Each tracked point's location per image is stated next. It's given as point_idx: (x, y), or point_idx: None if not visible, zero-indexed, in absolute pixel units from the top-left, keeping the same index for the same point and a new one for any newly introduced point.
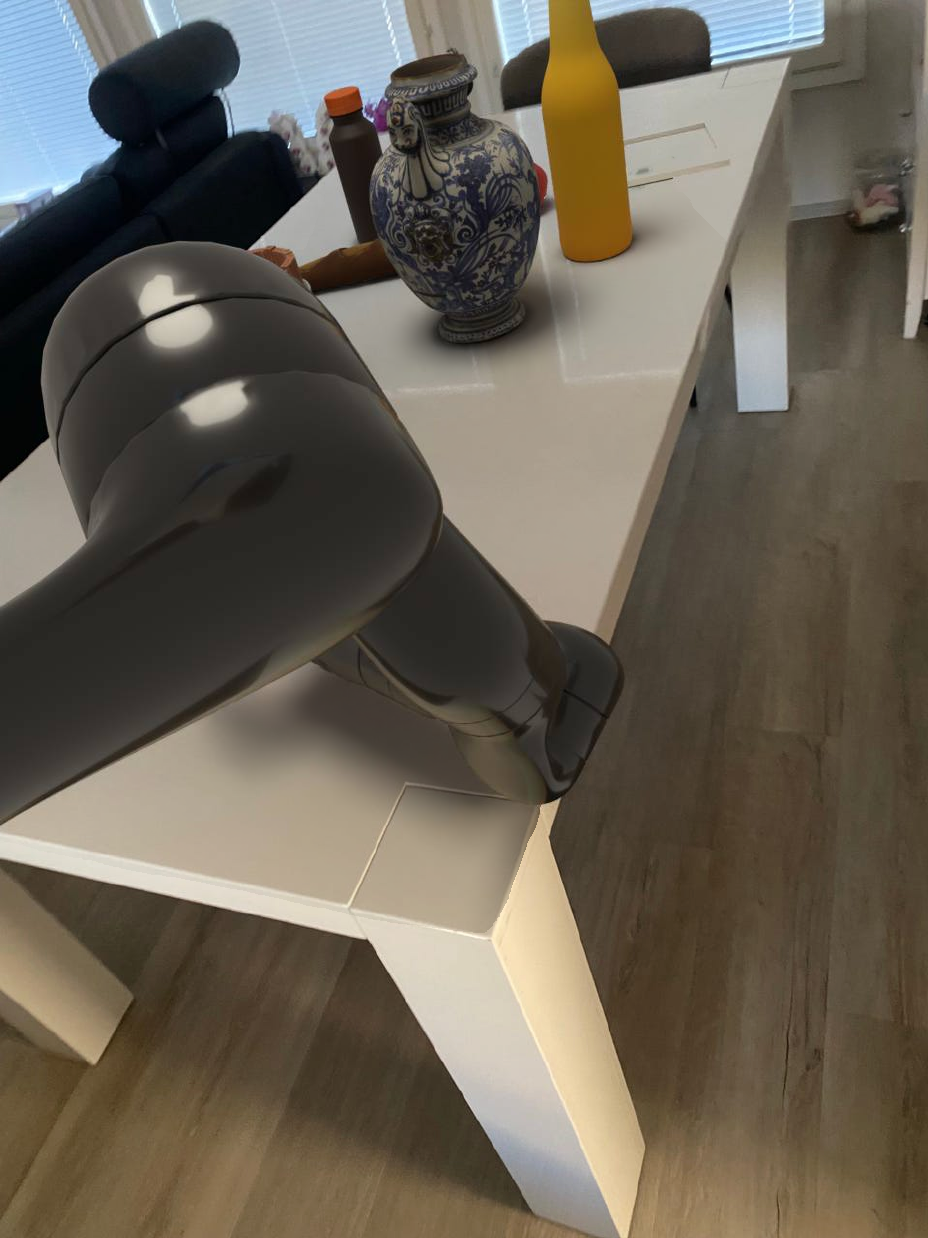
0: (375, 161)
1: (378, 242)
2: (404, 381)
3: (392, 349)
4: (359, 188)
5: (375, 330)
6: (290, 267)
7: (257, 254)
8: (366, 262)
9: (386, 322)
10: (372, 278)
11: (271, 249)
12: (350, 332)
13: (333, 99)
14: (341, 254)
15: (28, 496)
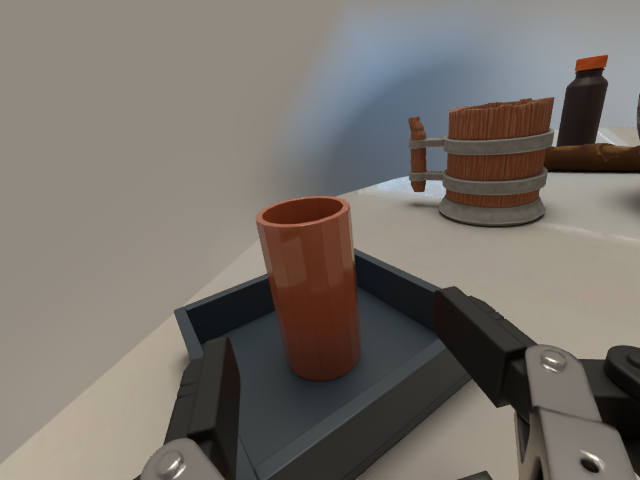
0: (598, 103)
1: (588, 145)
2: (618, 230)
3: (596, 207)
4: (576, 119)
5: (574, 193)
6: (549, 101)
7: (512, 104)
8: (572, 156)
9: (586, 191)
10: (569, 169)
11: (527, 100)
12: (549, 191)
13: (586, 58)
14: (552, 149)
15: None
